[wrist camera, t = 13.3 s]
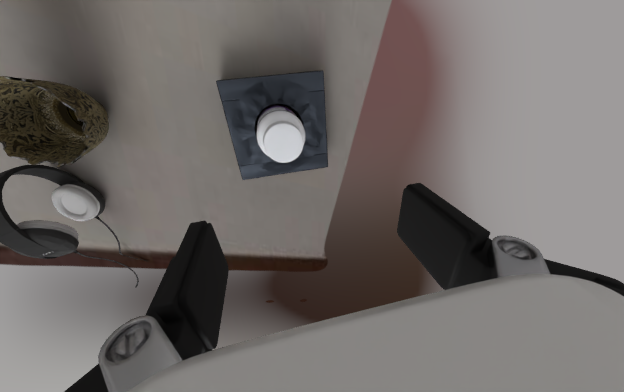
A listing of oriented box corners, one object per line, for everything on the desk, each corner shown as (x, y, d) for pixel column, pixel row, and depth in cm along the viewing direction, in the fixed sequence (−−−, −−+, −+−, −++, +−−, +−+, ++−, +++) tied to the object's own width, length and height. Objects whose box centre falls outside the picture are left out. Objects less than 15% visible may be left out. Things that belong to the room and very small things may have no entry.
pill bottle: (301, 137, 32) (316, 160, 23) (266, 148, 31) (267, 176, 23) (290, 98, 29) (302, 108, 20) (251, 110, 29) (246, 125, 20)
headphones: (144, 251, 38) (13, 158, 25) (168, 242, 39) (50, 145, 25) (123, 307, 31) (-80, 218, 18) (152, 296, 31) (-27, 199, 18)
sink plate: (220, 80, 26) (216, 80, 24) (317, 70, 28) (323, 70, 25) (244, 171, 32) (242, 180, 30) (323, 159, 34) (328, 167, 31)
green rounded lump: (57, 135, 26) (-17, 158, 19) (41, 66, 23) (-54, 63, 16) (132, 149, 28) (90, 174, 21) (127, 87, 25) (76, 93, 18)
